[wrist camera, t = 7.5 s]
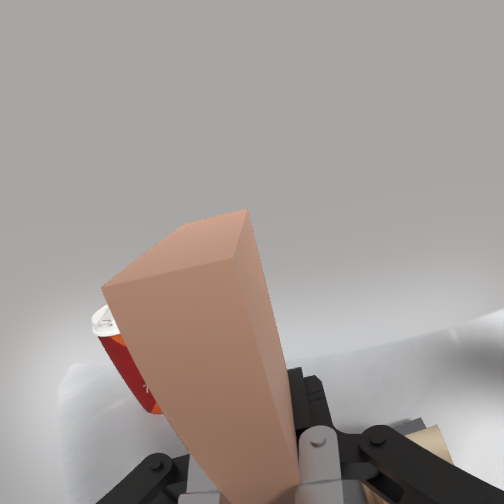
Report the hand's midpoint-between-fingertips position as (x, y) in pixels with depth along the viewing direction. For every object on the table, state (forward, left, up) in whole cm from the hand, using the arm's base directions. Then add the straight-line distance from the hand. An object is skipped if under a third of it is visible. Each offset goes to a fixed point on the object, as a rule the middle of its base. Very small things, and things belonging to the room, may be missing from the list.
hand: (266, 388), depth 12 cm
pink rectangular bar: (+1, +3, -12) cm, 12 cm away
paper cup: (+7, -22, -15) cm, 28 cm away
